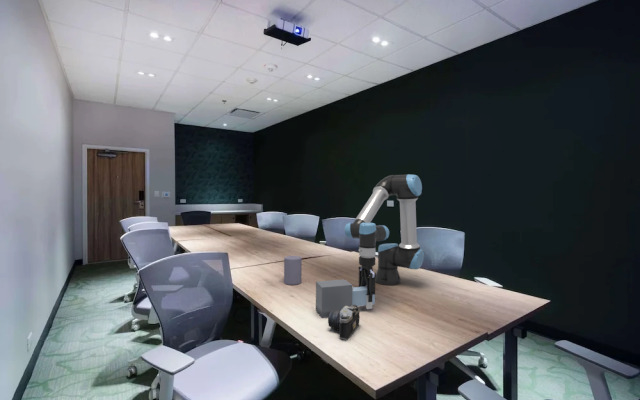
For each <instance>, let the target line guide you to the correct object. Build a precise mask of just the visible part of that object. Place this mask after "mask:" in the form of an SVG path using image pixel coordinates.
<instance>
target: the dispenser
mask: <svg viewBox="0 0 640 400" xmlns="http://www.w3.org/2000/svg"><path fill="white" fill-rule="evenodd" d="M353 287H354V286H353V284H352V283H351V282H349V281H348V280H346V279H331V280H320V281H315V311H316V313H317V314H318V316H320V318H321V319H326V318H327V319H328V317H329V314H330V312H331V311H341V310H342V309H343V308H344V307H345V306H348V307H350V305H352V291H353Z"/></svg>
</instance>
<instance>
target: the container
mask: <svg viewBox="0 0 640 400" xmlns="http://www.w3.org/2000/svg"><path fill="white" fill-rule="evenodd" d="M283 259H284V260H283V263H284V264H283V266H284V267H283V268H284V269H283V284H285V285H288V286H296V285H300V284H302V271H303V270H302V268H303V265H302V264H303V263H302V259H303V257H302V256H300V255H299V256H298V255H287V256H284V258H283Z"/></svg>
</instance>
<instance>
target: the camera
mask: <svg viewBox="0 0 640 400" xmlns="http://www.w3.org/2000/svg"><path fill="white" fill-rule="evenodd" d="M360 318H361V317H360V306H357V305H350V307H348V306H345V307H344V308H343V309H342V310H341V311H331V312H330V314H329V317H328V318H327V324H328V327H330V328H332V329H335V330H338V331H339V339H340V340H345V341H347V340H348V339H349V338H350V337H351V336H352V334H353V333H354V332H355V331H356V329H357V328H358V327H359V326H360Z"/></svg>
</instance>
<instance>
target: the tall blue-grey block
mask: <svg viewBox="0 0 640 400" xmlns="http://www.w3.org/2000/svg"><path fill="white" fill-rule="evenodd" d="M366 294H367V285H366V286H364V287H359V286H356V287H355V286H353V291H352V305H357V306H358V307H362V306H363V307H364V306H366ZM375 304H376V294H375V295H372V306H373V305H375Z"/></svg>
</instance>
